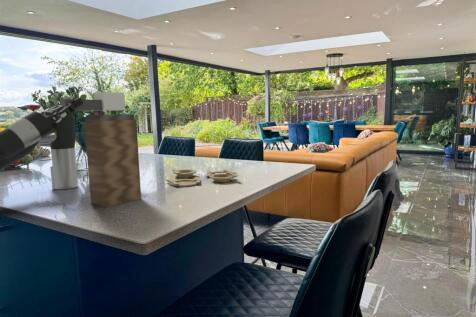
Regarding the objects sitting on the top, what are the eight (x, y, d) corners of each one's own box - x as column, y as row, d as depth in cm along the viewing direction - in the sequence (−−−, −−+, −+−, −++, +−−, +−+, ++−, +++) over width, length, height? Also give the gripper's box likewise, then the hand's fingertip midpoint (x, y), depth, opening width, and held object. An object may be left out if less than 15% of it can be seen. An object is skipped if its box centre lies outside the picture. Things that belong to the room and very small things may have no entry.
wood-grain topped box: (106, 207, 112) (99, 114, 108) (90, 202, 119) (83, 114, 114) (141, 198, 123) (136, 113, 119) (125, 194, 129) (120, 114, 125)
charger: (68, 110, 102) (66, 90, 101) (59, 110, 106) (57, 91, 105) (125, 110, 118) (124, 92, 117) (115, 110, 122) (114, 93, 121)
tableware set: (166, 189, 140) (165, 179, 139) (164, 176, 168) (164, 168, 168) (246, 183, 148) (246, 174, 147) (232, 172, 176) (232, 164, 176)
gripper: (31, 118, 91) (82, 88, 101) (12, 118, 100) (61, 91, 110) (48, 141, 95) (96, 110, 105) (28, 139, 103) (74, 110, 114)
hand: (78, 100), depth 108 cm, fingers closed on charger, 3 cm apart
